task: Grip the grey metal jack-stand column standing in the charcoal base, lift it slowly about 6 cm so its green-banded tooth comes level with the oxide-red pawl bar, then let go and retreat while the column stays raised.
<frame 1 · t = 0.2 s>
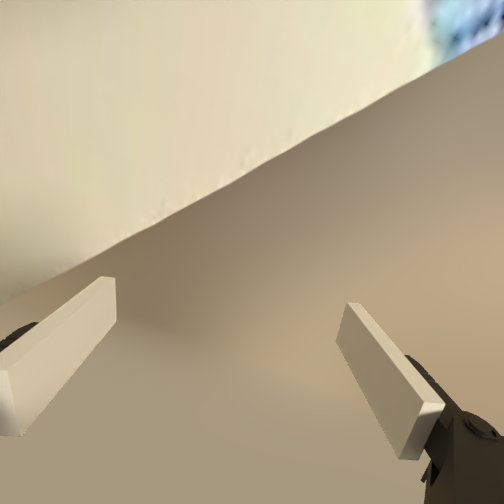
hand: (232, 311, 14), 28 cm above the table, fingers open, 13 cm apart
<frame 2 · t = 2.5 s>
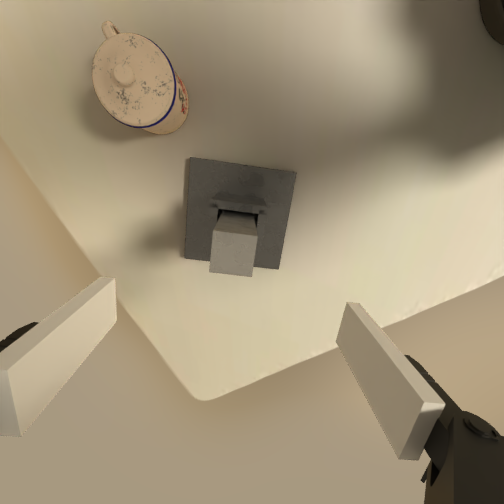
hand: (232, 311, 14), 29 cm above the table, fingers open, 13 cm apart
teacup with lid: (153, 91, 36), on the table
stand base: (238, 215, 42), on the table
column: (235, 234, 32), point 11 cm above the table, slide at 0.0 cm
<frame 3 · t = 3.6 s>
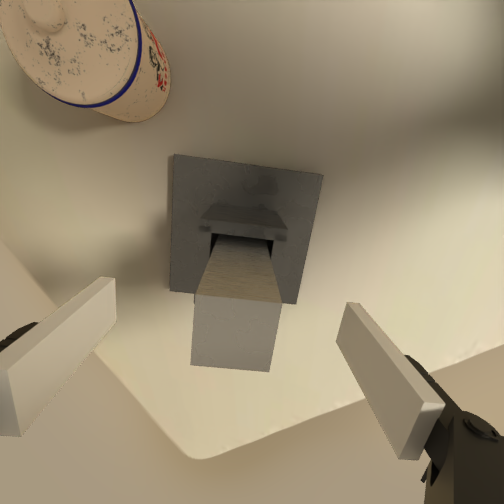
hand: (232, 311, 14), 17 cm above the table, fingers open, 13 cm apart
teacup with lid: (120, 60, 25), on the table
stand base: (241, 233, 31), on the table
column: (238, 270, 21), point 11 cm above the table, slide at 0.0 cm
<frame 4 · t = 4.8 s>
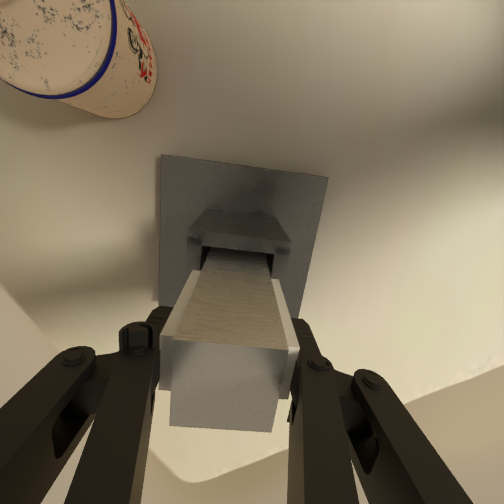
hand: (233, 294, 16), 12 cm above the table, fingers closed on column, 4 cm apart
teacup with lid: (99, 48, 22), on the table
stand base: (237, 242, 28), on the table
column: (233, 288, 18), point 11 cm above the table, slide at 0.0 cm, touching gripper
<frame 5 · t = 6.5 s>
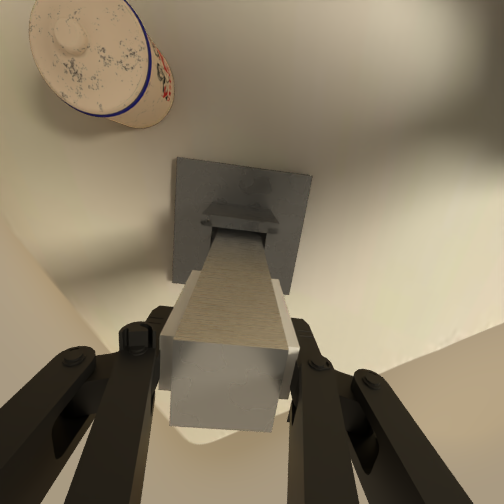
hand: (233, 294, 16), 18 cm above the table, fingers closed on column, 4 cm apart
teacup with lid: (128, 73, 28), on the table
stand base: (238, 229, 34), on the table
column: (233, 288, 18), point 17 cm above the table, slide at 5.9 cm, touching gripper
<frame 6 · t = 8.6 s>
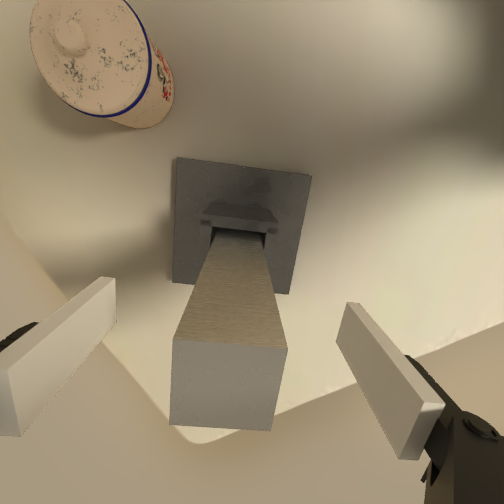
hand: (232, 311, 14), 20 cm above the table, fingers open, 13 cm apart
teacup with lid: (128, 73, 28), on the table
stand base: (238, 229, 34), on the table
column: (233, 288, 18), point 17 cm above the table, slide at 6.0 cm
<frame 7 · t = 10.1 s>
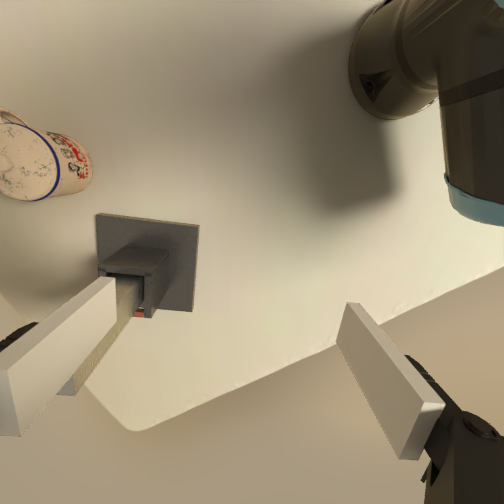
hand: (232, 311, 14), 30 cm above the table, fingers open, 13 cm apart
teacup with lid: (59, 156, 39), on the table
stand base: (150, 263, 45), on the table
column: (103, 317, 29), point 17 cm above the table, slide at 6.0 cm
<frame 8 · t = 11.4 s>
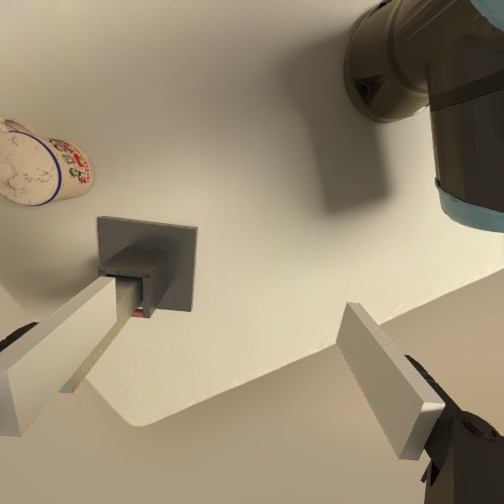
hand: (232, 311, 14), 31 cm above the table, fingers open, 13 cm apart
teacup with lid: (62, 161, 40), on the table
stand base: (150, 264, 46), on the table
column: (102, 318, 30), point 17 cm above the table, slide at 6.0 cm
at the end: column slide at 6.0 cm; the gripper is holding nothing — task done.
